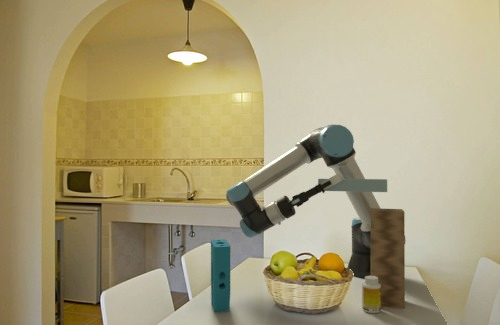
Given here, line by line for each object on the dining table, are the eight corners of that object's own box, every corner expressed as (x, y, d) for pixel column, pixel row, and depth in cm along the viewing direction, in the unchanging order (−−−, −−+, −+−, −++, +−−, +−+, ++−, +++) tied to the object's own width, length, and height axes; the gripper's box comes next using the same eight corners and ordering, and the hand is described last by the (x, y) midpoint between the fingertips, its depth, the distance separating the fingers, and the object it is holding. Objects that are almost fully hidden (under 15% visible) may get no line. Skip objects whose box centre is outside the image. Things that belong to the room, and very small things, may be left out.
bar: (318, 190, 134) (318, 178, 134) (319, 190, 138) (319, 178, 138) (387, 192, 128) (387, 179, 128) (386, 191, 132) (386, 179, 132)
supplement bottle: (383, 314, 120) (383, 279, 120) (364, 314, 120) (364, 279, 120) (377, 307, 125) (377, 274, 125) (360, 307, 125) (359, 274, 125)
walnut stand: (371, 305, 127) (370, 210, 127) (370, 297, 135) (370, 208, 135) (404, 308, 124) (404, 211, 125) (402, 299, 132) (402, 209, 132)
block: (230, 312, 120) (230, 246, 121) (214, 314, 120) (214, 247, 120) (225, 299, 132) (225, 239, 132) (210, 300, 131) (210, 239, 131)
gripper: (290, 216, 147) (347, 185, 142) (281, 222, 131) (344, 188, 125) (280, 198, 148) (336, 167, 143) (270, 202, 132) (332, 167, 126)
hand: (340, 176), depth 134 cm, fingers closed on bar, 4 cm apart
